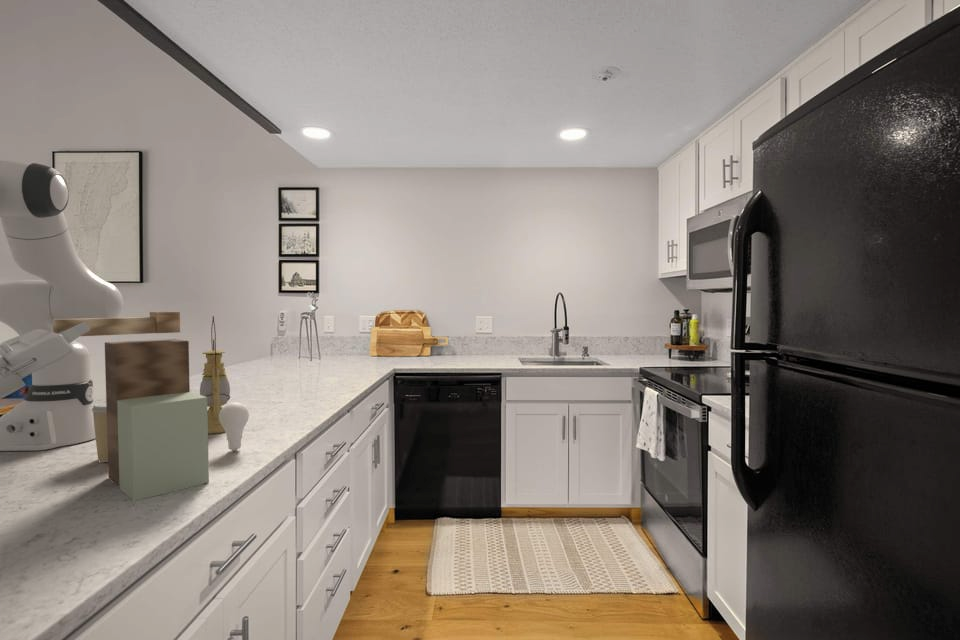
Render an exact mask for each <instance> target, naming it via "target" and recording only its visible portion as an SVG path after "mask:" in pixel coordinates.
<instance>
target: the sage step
mask: <svg viewBox="0 0 960 640" xmlns="http://www.w3.org/2000/svg"><path fill="white" fill-rule="evenodd" d="M117 410H118V446H119V483H120V488H121V489H122V490H123V491H124V492H125V493H124V492H123V491H122V490H121V489H120V488H119V489H120V490H121V491H122V492H123V493H124V494H126V495H127V497H129V498H130V499H131V500H132V501H133V500H136V501H139V499H140V500H143V499H147V498H151V497H157V496H160V495H165V494H169V493H172V491H173V492H176V490H177V491H181V490H184V489H188V488H192V487H197V486H200V485H201V484H202V485H205V484H204V483H206V484H209V483H210V471H209V470H210V469H209V434H208V414H207V411H208V407H207V397H205V396H202V395H200V393H199V394H198V393H195V392H192V391H190V392H183V393H174V394H166V395H157V396H149V397H141V398H132V399H124V400H117ZM208 482H209V483H208ZM202 485H201V486H202Z"/></svg>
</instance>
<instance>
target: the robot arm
mask: <svg viewBox="0 0 960 640" xmlns="http://www.w3.org/2000/svg"><path fill="white" fill-rule="evenodd" d="M69 195H70V193H69V187H68V184H67V181H66V179H65V177H64V175H62V174H61V173H60V172H59V171H58V170H57V169H55V168H54V167H52V166H48V165H45V164H41V163H35V162H34V163H32V162H31V163H29V162H23V161H17V160H11V159H4V158H2V159H1V158H0V221H1V226H2V228H3V232H4V235H5V238H6V240H7V242H8V246H9V250H10V251H11V254H12V258H13V261H14V262H15V264H16V265H18V267H19V268H20V269H21V270H22V271H25V272H26V273H28V274H31V275H34V276H36V277H39V278H40V279H20V280H14V281H9V282H8V281H7V282H2V283H0V322H1V323H3V324H5V325H7V326H8V327H10V328H11V329H12V330H13V331H14V332H16V334H18V336H16V337H13V338H10V339H7V340H5V341H3V342H0V400H2V399H3V398H5V397H7V396H9V395H11V394H13V393H14V392H16V391H19V393H18V394H19V395H23V394H24V397H23V401H21V402H20V403H19V404H17V405H16V406H14V407H12V409H10V410H8V411H7V412H6V413H5V414H3V415H2V416H0V452H2V451H4V452H5V451H6V452H7V451H8V452H9V451H10V452H11V451H15V452H17V451H22V452H23V451H45V450H50V449H51V450H52V449H54V448H59V447H64V446H65V447H66V446H71V445H75V444H79V443H84V442H88V441H90V440H94V439H96V437H95V429H94V419H93V412H92V408H93V406H94V405H93V402H94V385H93V383H94V382H93V380H92V379H91V359H90V358H91V357H90V356H91V353H90V350H88V348H87V347H86V346H85V345H84V344H82V343H81V342H79V341H77V339H78V338H79V337H82V336H81V335H82V334H84V333H86V332H88V331H90V327H89V325H88V324H87V323H86V322H80V323H78V324H76V325H74V326H73V327H71V328H69V329H67V330H65V331H62V332H60V333H58V334H57V333H54V332H53V319H87V318H119V316H120V315H121V313H122V311H123V309H124V299H123V295H122V293H121V291H120V290H119V288H117V287H116V285H114V284H113V283H111V282H109V281H107V280H104V279H103V278H101V277H100V276H98V275H96V274H95V273H94V272H93V271H91V269H90V268H88V266H86V264H85V263H84V262H83V261H82V259H81V258H80V256H79V254H78V253H77V250H76V247H75V245H74V242H73V239H72V236H71V233H70V229H69V226H68V222H67V218H66V216H65V213H64V211H65V210H66V208H67V206H68V203H69V197H70V196H69ZM30 375H31V379H32V380H31V381H32V383H31V384H29V385H28V386H26V384H25V382H24V381H23V379H25V378H26V377H27V376H30ZM24 387H25V388H24ZM20 391H21V392H20Z"/></svg>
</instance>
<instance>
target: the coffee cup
mask: <svg viewBox="0 0 960 640" xmlns="http://www.w3.org/2000/svg"><path fill="white" fill-rule="evenodd" d="M92 406H93V408H92V412H93V419H94V429H95V437H96V438H95V444H96V453H97V461H98V462H99V461H100V462H99V463H101V462H108V444H107V409H106V400H105V401H101V402H96V403H95V404H93V405H92Z"/></svg>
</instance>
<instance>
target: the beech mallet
mask: <svg viewBox="0 0 960 640" xmlns="http://www.w3.org/2000/svg"><path fill="white" fill-rule="evenodd" d="M80 322H86V323H87V324H88V325H89V327H90V331H88V332H86V333H84V334H82V335H81V336H80V337H99V336H120V335H143V334H144V335H146V334H170V333H172V334H174V333H176V334H177V333H181V312H179V311H149V316H144V317H143V316H142V317H140V316H139V317H138V316H137V317H136V316H135V317H117V318H87V319H53V332H54V333H57V334H58V333H60V332H62V331H65V330H67V329H69V328H71V327H73V326H74V325H76V324H78V323H80Z"/></svg>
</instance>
